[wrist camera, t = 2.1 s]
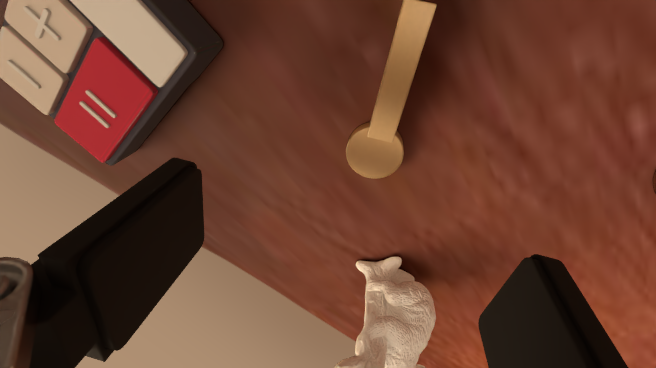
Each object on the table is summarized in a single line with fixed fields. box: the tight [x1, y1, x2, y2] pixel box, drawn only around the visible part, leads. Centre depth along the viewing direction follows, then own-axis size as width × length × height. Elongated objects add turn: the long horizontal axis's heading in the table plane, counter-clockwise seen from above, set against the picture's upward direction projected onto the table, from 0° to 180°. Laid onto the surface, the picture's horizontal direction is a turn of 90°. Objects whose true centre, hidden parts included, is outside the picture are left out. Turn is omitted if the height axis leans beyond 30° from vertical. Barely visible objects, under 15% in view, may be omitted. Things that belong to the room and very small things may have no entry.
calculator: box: [0, 0, 223, 165], centre depth 23 cm, size 11×4×15 cm
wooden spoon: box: [346, 0, 437, 179], centre depth 21 cm, size 12×4×3 cm, turn 170°
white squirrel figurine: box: [334, 257, 436, 368], centre depth 26 cm, size 8×7×12 cm
